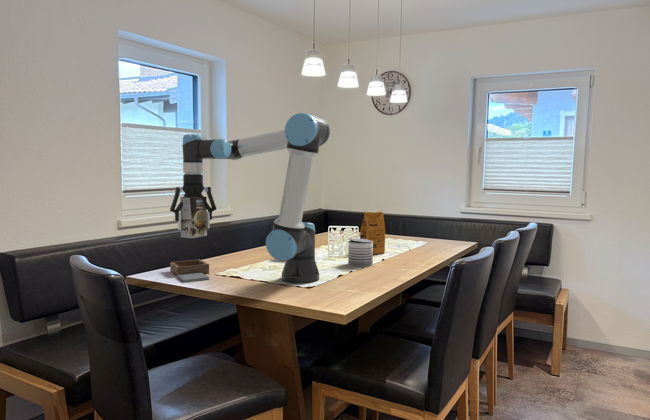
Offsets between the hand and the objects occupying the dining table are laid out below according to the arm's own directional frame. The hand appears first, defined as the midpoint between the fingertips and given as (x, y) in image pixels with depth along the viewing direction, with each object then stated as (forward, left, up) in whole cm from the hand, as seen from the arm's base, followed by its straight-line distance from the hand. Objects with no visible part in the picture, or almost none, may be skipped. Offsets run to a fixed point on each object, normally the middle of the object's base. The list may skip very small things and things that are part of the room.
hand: (193, 228), depth 195 cm
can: (-11, -74, -20) cm, 78 cm away
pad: (-1, +1, -20) cm, 20 cm away
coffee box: (0, 0, -3) cm, 3 cm away
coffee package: (+11, -97, -20) cm, 100 cm away
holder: (+12, -1, -20) cm, 23 cm away
